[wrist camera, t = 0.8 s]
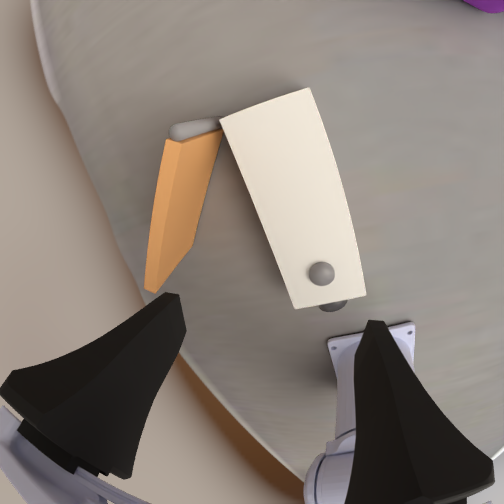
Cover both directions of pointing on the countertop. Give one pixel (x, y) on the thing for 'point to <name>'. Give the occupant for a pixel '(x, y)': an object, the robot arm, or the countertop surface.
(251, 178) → the cream tapered panel
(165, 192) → the side door
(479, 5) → the toy camera
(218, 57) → the countertop surface
